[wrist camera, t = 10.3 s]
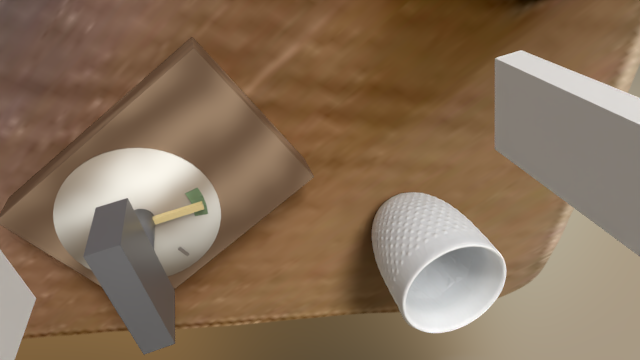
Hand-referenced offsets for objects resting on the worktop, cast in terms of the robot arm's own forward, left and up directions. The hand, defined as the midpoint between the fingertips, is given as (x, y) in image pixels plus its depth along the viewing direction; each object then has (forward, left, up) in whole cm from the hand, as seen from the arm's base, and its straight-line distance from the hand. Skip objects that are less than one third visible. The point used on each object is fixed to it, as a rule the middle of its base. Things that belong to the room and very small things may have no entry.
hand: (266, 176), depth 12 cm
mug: (+33, 0, -32) cm, 46 cm away
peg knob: (+11, -15, -27) cm, 33 cm away
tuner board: (+10, -14, -32) cm, 36 cm away
